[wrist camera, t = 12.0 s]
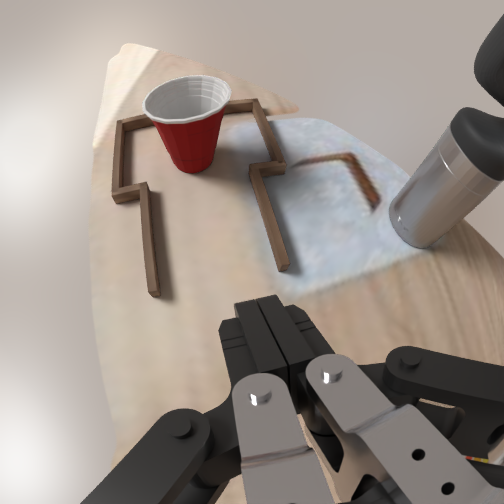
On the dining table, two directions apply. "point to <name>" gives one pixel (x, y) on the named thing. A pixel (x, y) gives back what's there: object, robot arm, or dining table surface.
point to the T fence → (255, 173)
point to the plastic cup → (189, 118)
